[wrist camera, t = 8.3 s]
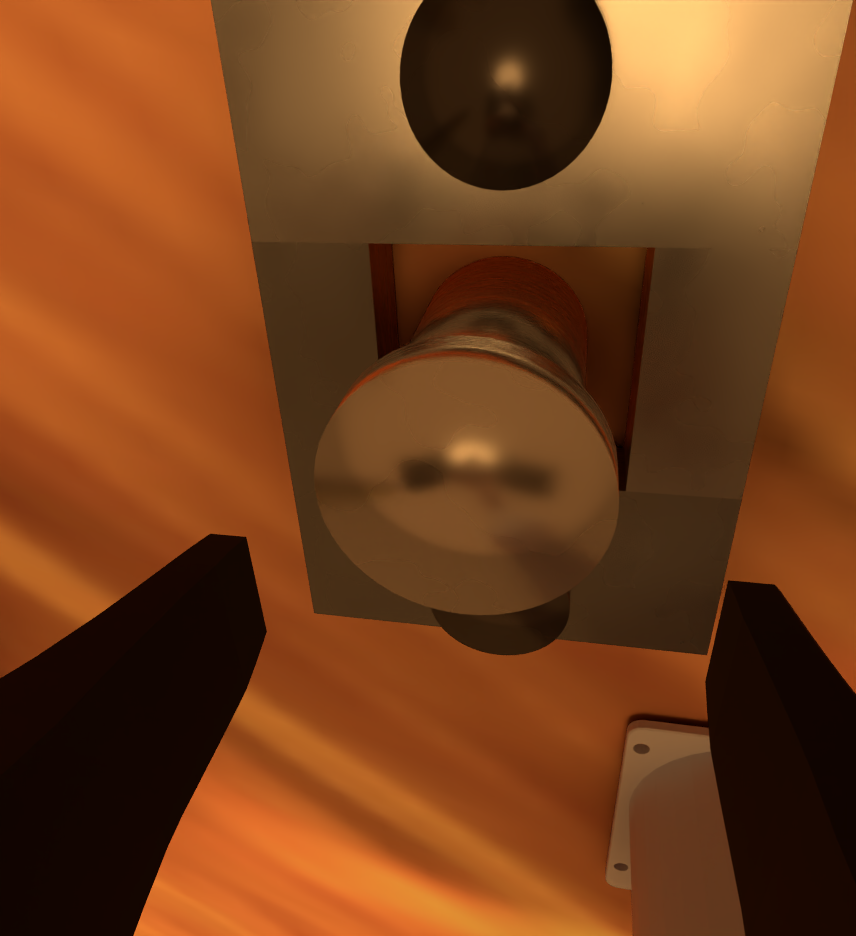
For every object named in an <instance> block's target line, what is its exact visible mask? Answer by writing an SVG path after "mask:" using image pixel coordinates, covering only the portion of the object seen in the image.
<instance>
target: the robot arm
mask: <svg viewBox="0 0 856 936" xmlns="http://www.w3.org/2000/svg"><path fill="white" fill-rule="evenodd" d="M266 632H267V631H266V626H265V622H264V617H263V612H262V608H261V603H260V598H259V594H258V589H257V585H256V580H255V575H254V571H253V566H252V562H251V557H250V552H249V548H248V543H247V539H246V537H240V536H229V535H218V534H209V535H208V536H206V537H205V538H203V539H202V540H200V541H199V542H198V543H196V544H195V545H193V546H192V547H190V548H189V549H188V550H186V551H185V552H184V553H182V554H181V555H180V556H178V557H177V558H175V559H174V560H173V561H171V562H170V563H169V564H167V565H166V566H165V567H163V568H162V569H161V570H159V571H158V572H157V573H155V574H154V575H153V576H151V577H150V578H149V579H147V580H146V581H144V582H143V583H142V584H140V585H139V586H138V587H136V588H135V589H133V590H132V591H131V592H129V593H128V594H127V595H125V596H124V597H122V598H121V599H120V600H118V601H117V602H116V603H114V604H113V605H111V606H110V607H109V608H107V609H106V610H105V611H103V612H102V613H100V614H99V615H98V616H96V617H95V618H93V619H92V620H90V621H89V622H87V623H86V624H84V625H83V626H81V627H80V628H78V629H77V630H75V631H74V632H72V633H71V634H69V635H68V636H66V637H65V638H63V639H62V640H60V641H59V642H57V643H56V644H54V645H53V646H51V647H50V648H48V649H47V650H45V651H44V652H42V653H41V654H39V655H38V656H36V657H35V658H33V659H31V660H30V661H28V662H27V663H25V664H23V665H22V666H20V667H18V668H17V669H15V670H13V671H12V672H10V673H9V674H7V675H5V676H4V677H2V678H0V936H133V935H134V932H135V930H136V927H137V924H138V921H139V919H140V916H141V913H142V911H143V908H144V906H145V903H146V900H147V898H148V895H149V893H150V890H151V888H152V885H153V883H154V880H155V878H156V875H157V873H158V870H159V868H160V865H161V863H162V860H163V857H164V855H165V852H166V850H167V847H168V845H169V843H170V841H171V839H172V836H173V834H174V832H175V830H176V828H177V826H178V824H179V821H180V819H181V817H182V815H183V813H184V811H185V809H186V807H187V805H188V803H189V801H190V799H191V798H192V796H193V794H194V792H195V790H196V788H197V786H198V784H199V782H200V780H201V778H202V776H203V774H204V772H205V770H206V768H207V766H208V764H209V763H210V761H211V759H212V757H213V755H214V753H215V751H216V749H217V747H218V745H219V743H220V741H221V739H222V737H223V735H224V733H225V731H226V729H227V727H228V725H229V723H230V721H231V719H232V717H233V715H234V713H235V711H236V709H237V707H238V705H239V703H240V701H241V699H242V697H243V695H244V693H245V691H246V689H247V686H248V684H249V681H250V678H251V676H252V673H253V670H254V667H255V665H256V662H257V659H258V656H259V653H260V650H261V647H262V644H263V641H264V638H265V635H266ZM705 683H706V698H707V714H708V727H709V728H706V727H698V726H689V725H681V724H673V723H665V722H657V721H649V720H637V721H633V722H632V723H630V724H629V725H628V727H627V732H626V738H625V745H624V751H623V758H622V764H621V771H620V777H619V784H618V791H617V797H616V804H615V810H614V817H613V823H612V830H611V836H610V843H609V849H608V856H607V862H606V869H605V879H606V881H607V883H608V884H609V885H611V886H613V887H617V888H623V889H629V890H631V899H632V931H633V936H856V694H855V693H854V691H853V690H852V689H851V687H850V686H849V685H848V684H847V682H846V681H845V680H844V679H843V677H842V676H841V675H840V673H839V672H838V671H837V669H836V668H835V667H834V665H833V664H832V663H831V661H830V660H829V659H828V657H827V656H826V655H825V653H824V652H823V650H822V649H821V648H820V646H819V645H818V644H817V642H816V641H815V640H814V638H813V637H812V635H811V634H810V633H809V631H808V630H807V628H806V627H805V625H804V624H803V623H802V621H801V620H800V618H799V617H798V616H797V614H796V613H795V611H794V610H793V608H792V607H791V605H790V604H789V603H788V601H787V600H786V598H785V597H784V595H783V594H782V593H781V591H780V590H779V589H778V588H777V587H776V586H775V585H772V584H761V583H750V582H739V581H728V584H727V588H726V593H725V597H724V602H723V606H722V610H721V615H720V619H719V624H718V628H717V633H716V637H715V641H714V646H713V650H712V655H711V659H710V664H709V668H708V672H707V677H706V681H705Z"/></svg>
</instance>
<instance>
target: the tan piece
mask: <svg viewBox="0 0 856 936" xmlns="http://www.w3.org/2000/svg"><path fill="white" fill-rule="evenodd" d="M852 2H853V0H211V4H212V10H213V16H214V22H215V28H216V34H217V40H218V46H219V52H220V58H221V64H222V70H223V75H224V81H225V87H226V93H227V99H228V105H229V111H230V117H231V123H232V129H233V135H234V141H235V147H236V153H237V158H238V164H239V170H240V176H241V182H242V188H243V194H244V200H245V206H246V212H247V218H248V224H249V230H250V235H251V241H252V247H253V253H254V259H255V265H256V271H257V277H258V283H259V289H260V295H261V301H262V307H263V312H264V318H265V324H266V330H267V336H268V342H269V348H270V354H271V360H272V366H273V372H274V378H275V384H276V389H277V395H278V401H279V407H280V413H281V419H282V425H283V431H284V437H285V443H286V449H287V455H288V461H289V467H290V472H291V478H292V484H293V490H294V496H295V502H296V508H297V514H298V520H299V526H300V532H301V538H302V544H303V549H304V555H305V561H306V567H307V573H308V579H309V585H310V591H311V597H312V603H313V609H314V613H317V614H326V615H336V616H345V617H354V618H364V619H373V620H383V621H392V622H401V623H411V624H420V625H429V626H439V627H442V628H443V629H444V630H445V631H446V632H447V633H448V634H449V635H450V636H452V637H453V638H454V639H456V640H457V641H459V642H461V643H462V644H464V645H466V646H468V647H470V648H473V649H476V650H479V651H482V652H486V653H490V654H497V655H519V654H525V653H529V652H533V651H536V650H539V649H541V648H543V647H545V646H547V645H548V644H550V643H551V642H553V641H554V640H555V639H561V640H570V641H580V642H589V643H598V644H608V645H617V646H626V647H636V648H645V649H655V650H664V651H673V652H683V653H692V654H701V655H707V653H708V649H709V644H710V640H711V635H712V631H713V626H714V622H715V617H716V613H717V608H718V604H719V599H720V595H721V590H722V586H723V581H724V577H725V572H726V568H727V563H728V559H729V554H730V550H731V545H732V541H733V536H734V532H735V527H736V523H737V518H738V514H739V509H740V505H741V500H742V496H743V491H744V487H745V482H746V478H747V473H748V469H749V465H750V460H751V456H752V451H753V447H754V442H755V438H756V433H757V429H758V424H759V420H760V415H761V411H762V406H763V402H764V397H765V393H766V388H767V384H768V379H769V375H770V370H771V366H772V361H773V357H774V352H775V348H776V343H777V339H778V334H779V330H780V325H781V321H782V316H783V312H784V307H785V303H786V298H787V294H788V290H789V285H790V281H791V276H792V272H793V267H794V263H795V258H796V254H797V249H798V245H799V240H800V236H801V231H802V227H803V222H804V218H805V213H806V209H807V204H808V200H809V195H810V191H811V186H812V182H813V177H814V173H815V168H816V164H817V159H818V155H819V150H820V146H821V141H822V137H823V132H824V128H825V123H826V119H827V115H828V110H829V106H830V101H831V97H832V92H833V88H834V83H835V79H836V74H837V70H838V65H839V61H840V56H841V52H842V47H843V43H844V38H845V34H846V29H847V25H848V20H849V16H850V11H851V7H852ZM392 244H447V245H516V246H585V247H647V250H646V259H645V267H644V276H643V285H642V294H641V302H640V311H639V320H638V329H637V337H636V346H635V355H634V364H633V372H632V381H631V390H630V399H629V407H628V416H627V425H626V434H625V442H624V447H616V452H617V461H618V480H619V511H618V519H617V523H616V528H615V532H614V535H613V537H612V540H611V542H610V545H609V547H608V549H607V550H606V552H605V554H604V555H603V557H602V559H601V560H600V562H599V563H598V564H597V565H596V567H595V568H594V569H593V570H592V571H591V573H590V574H589V575H588V576H587V577H585V578H584V579H583V580H582V581H581V582H580V583H579V584H578V585H576V586H575V587H573V588H572V589H570V590H569V591H568V592H566V593H565V594H563V595H561V596H559V597H557V598H555V599H553V600H551V601H549V602H547V603H544V604H542V605H539V606H536V607H533V608H530V609H526V610H522V611H518V612H513V613H505V614H498V615H470V614H459V613H453V612H446V611H442V610H438V609H434V608H430V607H427V606H424V605H421V604H418V603H415V602H413V601H410V600H408V599H406V598H404V597H402V596H399V595H397V594H395V593H393V592H392V591H390V590H388V589H387V588H385V587H383V586H382V585H380V584H378V583H377V582H376V581H374V580H373V579H372V578H370V577H369V576H368V575H366V574H365V573H364V572H363V571H362V570H361V569H359V568H358V567H357V566H356V565H355V564H354V563H353V562H352V561H351V560H350V559H349V558H348V556H347V555H346V554H345V553H344V552H343V551H342V550H341V548H340V547H339V545H338V544H337V543H336V541H335V540H334V538H333V537H332V535H331V533H330V531H329V530H328V528H327V526H326V524H325V522H324V520H323V517H322V514H321V511H320V509H319V506H318V502H317V497H316V492H315V483H314V467H315V457H316V453H317V449H318V446H319V442H320V439H321V437H322V435H323V433H324V430H325V428H326V426H327V424H328V423H329V421H330V419H331V418H332V416H333V414H334V413H335V411H336V409H337V408H338V406H339V404H340V403H341V401H342V399H343V398H344V396H345V395H346V393H347V391H348V390H349V388H350V387H351V385H352V384H353V383H354V382H355V381H356V380H357V378H358V377H359V376H360V375H361V374H362V373H363V372H364V371H365V370H366V369H367V368H369V367H370V366H371V365H372V364H374V363H375V362H376V361H377V360H379V359H381V358H382V357H384V356H386V355H387V354H389V353H391V352H392V351H394V350H397V349H399V340H398V325H397V310H396V296H395V281H394V267H393V252H392Z"/></svg>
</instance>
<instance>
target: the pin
mask: <svg viewBox="0 0 856 936" xmlns="http://www.w3.org/2000/svg"><path fill="white" fill-rule="evenodd" d="M587 334H588V330H587V322H586V318H585V314H584V311H583V308H582V306H581V304H580V301H579V300H578V298H577V296H576V295H575V293H574V291H573V290H572V289H571V288H570V287H569V285H568V284H567V283H566V282H565V281H564V280H563V279H562V278H561V277H560V276H558V275H557V274H556V273H554V272H553V271H551V270H550V269H548V268H546V267H544V266H542V265H541V264H538V263H536V262H533V261H530V260H526V259H522V258H517V257H507V256H506V257H491V258H485V259H482V260H478V261H475V262H472V263H470V264H468V265H466V266H464V267H462V268H461V269H459V270H457V271H456V272H454V273H453V274H452V275H451V276H450V277H448V278H447V279H446V280H445V281H444V282H443V284H442V285H441V286H440V287H439V288H438V290H437V291H436V293H435V294H434V296H433V298H432V300H431V302H430V304H429V306H428V308H427V310H426V312H425V314H424V316H423V318H422V320H421V322H420V323H419V325H418V327H417V329H416V331H415V333H414V335H413V337H412V339H411V341H410V343H409V344H408V345H406V346H404V347H401V348H399V349H397V350H394V351H392V352H391V353H389V354H387V355H386V356H384V357H382V358H381V359H379V360H377V361H376V362H375V363H374V364H372V365H371V366H370V367H369V368H367V369H366V370H365V371H364V372H363V373H362V374H361V375H360V376H359V377H358V378H357V380H356V381H355V382H354V383H353V384H352V385H351V387H350V388H349V390H348V391H347V393H346V395H345V396H344V398H343V399H342V401H341V403H340V404H339V406H338V408H337V409H336V411H335V413H334V414H333V416H332V418H331V419H330V421H329V423H328V424H327V426H326V428H325V430H324V433H323V435H322V437H321V439H320V442H319V446H318V449H317V453H316V457H315V467H314V483H315V492H316V497H317V502H318V506H319V509H320V511H321V514H322V517H323V520H324V522H325V524H326V526H327V528H328V530H329V531H330V533H331V535H332V537H333V538H334V540H335V541H336V543H337V544H338V545H339V547H340V548H341V550H342V551H343V552H344V553H345V554H346V555H347V556H348V558H349V559H350V560H351V561H352V562H353V563H354V564H355V565H356V566H357V567H358V568H359V569H361V570H362V571H363V572H364V573H365V574H366V575H368V576H369V577H370V578H372V579H373V580H374V581H376V582H377V583H378V584H380V585H382V586H383V587H385V588H387V589H388V590H390V591H392V592H393V593H395V594H397V595H399V596H402V597H404V598H406V599H408V600H410V601H413V602H415V603H418V604H421V605H424V606H427V607H430V608H434V609H438V610H442V611H446V612H453V613H459V614H470V615H498V614H505V613H513V612H518V611H522V610H526V609H530V608H533V607H536V606H539V605H542V604H544V603H547V602H549V601H551V600H553V599H555V598H557V597H559V596H561V595H563V594H565V593H566V592H568V591H569V590H570V589H572V588H573V587H575V586H576V585H578V584H579V583H580V582H581V581H582V580H583V579H584V578H585V577H587V576H588V575H589V574H590V573H591V571H592V570H593V569H594V568H595V567H596V565H597V564H598V563H599V562H600V560H601V559H602V557H603V555H604V554H605V552H606V550H607V549H608V547H609V545H610V542H611V540H612V537H613V535H614V532H615V528H616V523H617V519H618V511H619V480H618V461H617V452H616V446H615V442H614V439H613V435H612V432H611V429H610V427H609V425H608V423H607V420H606V418H605V416H604V414H603V413H602V411H601V409H600V408H599V406H598V405H597V403H596V402H595V400H594V399H593V397H592V396H591V395H590V394H589V393H588V392H587V390H586V365H587Z"/></svg>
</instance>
